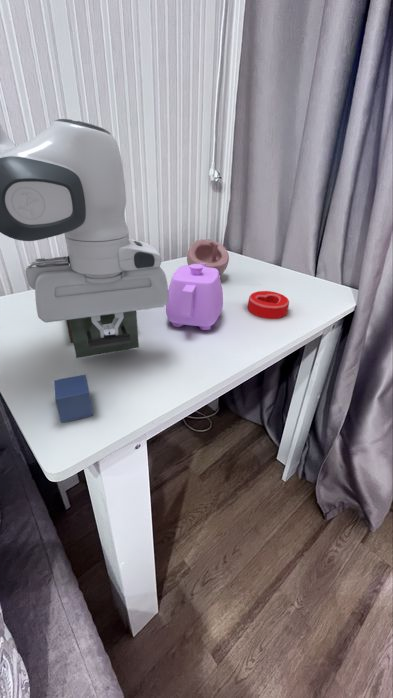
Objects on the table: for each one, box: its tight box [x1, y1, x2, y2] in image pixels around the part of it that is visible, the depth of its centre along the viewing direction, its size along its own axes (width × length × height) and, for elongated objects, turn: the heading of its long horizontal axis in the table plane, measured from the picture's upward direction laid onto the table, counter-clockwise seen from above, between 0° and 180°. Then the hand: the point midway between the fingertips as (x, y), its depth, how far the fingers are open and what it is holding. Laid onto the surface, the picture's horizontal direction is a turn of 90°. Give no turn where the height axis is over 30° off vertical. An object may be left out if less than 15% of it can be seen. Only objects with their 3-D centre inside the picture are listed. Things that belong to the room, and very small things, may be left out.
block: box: [53, 374, 94, 424], centre depth 49 cm, size 4×4×4 cm
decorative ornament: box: [247, 290, 290, 320], centre depth 81 cm, size 10×10×3 cm
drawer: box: [69, 310, 140, 359], centre depth 63 cm, size 18×11×8 cm, turn 22°
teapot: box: [165, 263, 224, 331], centre depth 73 cm, size 20×12×13 cm, turn 169°
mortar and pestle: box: [186, 238, 230, 277], centre depth 95 cm, size 12×12×12 cm
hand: (109, 335), depth 56 cm, fingers closed, pressing on drawer
